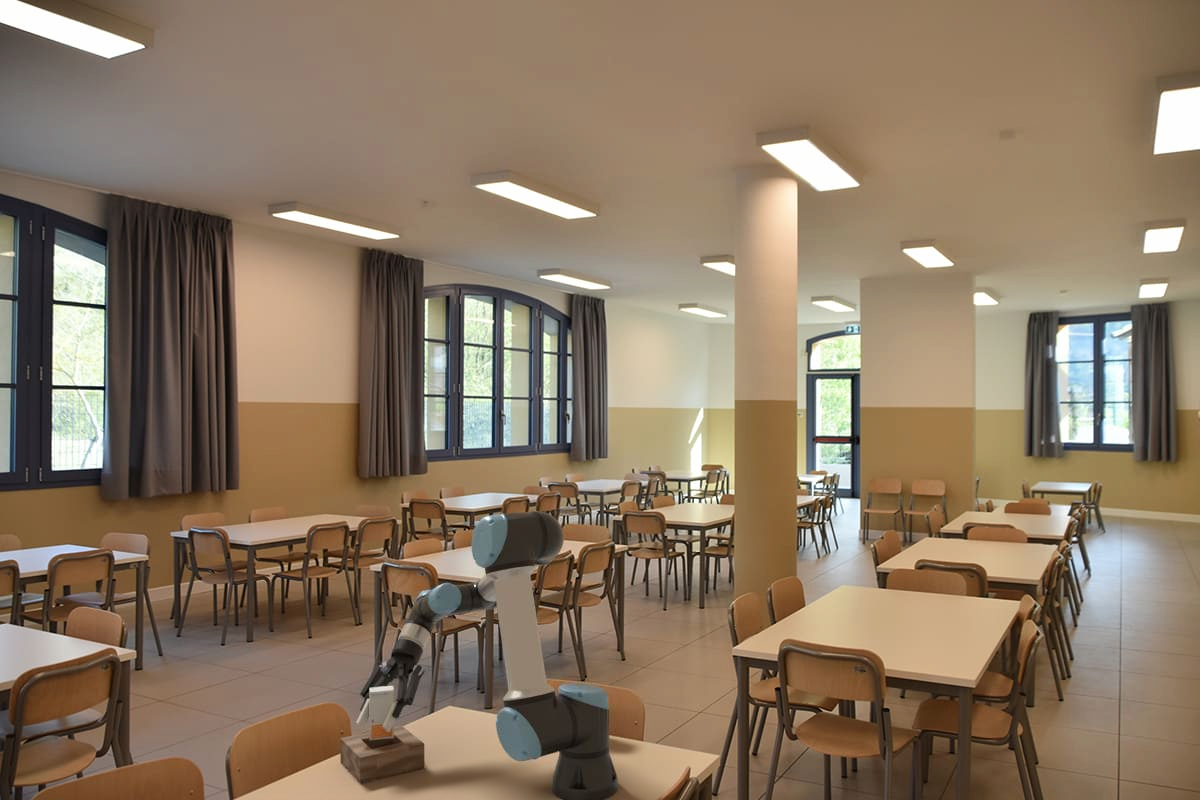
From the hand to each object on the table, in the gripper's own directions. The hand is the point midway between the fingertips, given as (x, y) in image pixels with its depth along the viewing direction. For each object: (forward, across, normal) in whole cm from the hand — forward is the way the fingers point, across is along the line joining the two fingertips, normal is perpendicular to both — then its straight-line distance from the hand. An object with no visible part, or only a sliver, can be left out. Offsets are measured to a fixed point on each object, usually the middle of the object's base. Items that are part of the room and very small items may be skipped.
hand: (372, 727), depth 209 cm
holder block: (+5, 0, -10) cm, 11 cm away
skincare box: (0, 0, -5) cm, 5 cm away
